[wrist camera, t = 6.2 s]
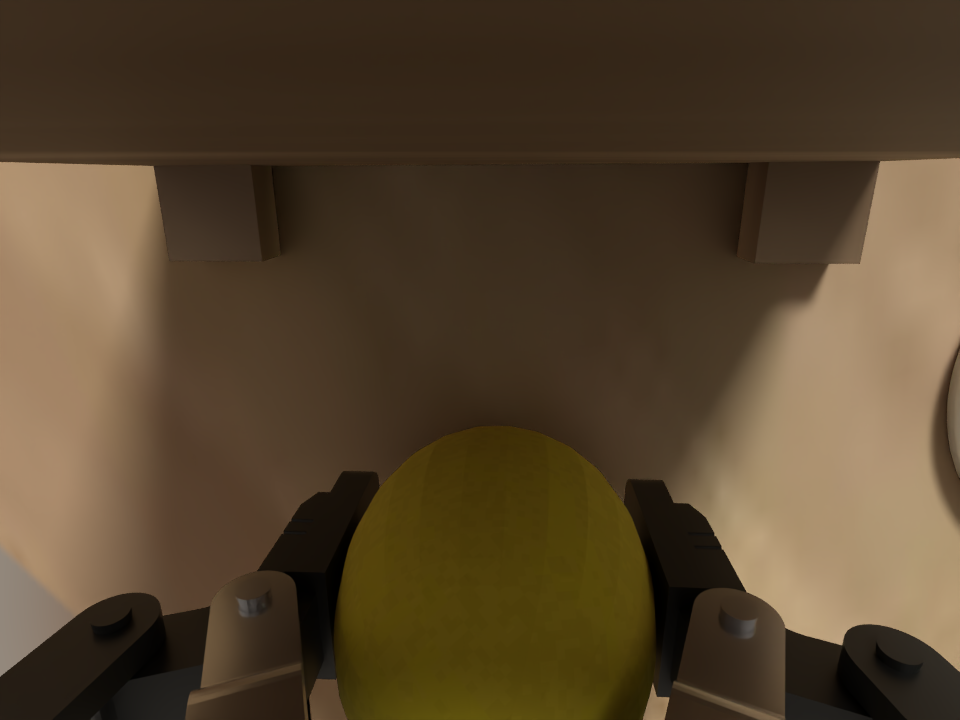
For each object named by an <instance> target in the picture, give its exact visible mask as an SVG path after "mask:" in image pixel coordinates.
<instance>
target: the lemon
mask: <svg viewBox="0 0 960 720" xmlns="http://www.w3.org/2000/svg"><path fill="white" fill-rule="evenodd" d="M334 652H335V663H336V675H337V683H338V690H339V696H340V699H341V702H342V705H343V708H344V711H345V714H346V716H347V719H348V720H643V716H644V713H645V709H646V706H647V702H648V699H649V695H650V691H651V687H652V683H653V679H654V672H655V663H656V622H655V600H654V588H653V581H652V575H651V571H650V567H649V563H648V560H647V557H646V555H645V552H644V549H643V546H642V544H641V541H640V538H639V536H638V533H637V530H636V527H635V525H634V522H633V520H632V517H631V515H630V514H629V512H628V510H627V508H626V507H625V505H624V504H623V502H622V501H621V500H620V498H619V497H618V495H617V494H616V493H615V491H614V490H613V489H612V487H611V486H610V484H609V483H608V482H607V480H606V479H605V478H604V476H603V475H602V473H601V472H600V471H599V470H598V469H597V468H596V467H594V466H593V465H592V464H591V463H590V462H588V461H587V460H586V459H585V458H583V457H582V456H581V455H580V454H578V453H577V452H576V451H575V450H574V449H572V448H571V447H570V446H567V445H565V444H563V443H561V442H559V441H557V440H555V439H552V438H550V437H548V436H546V435H544V434H542V433H539V432H537V431H532V430H527V429H522V428H517V427H512V426H478V427H474V428H470V429H467V430H463V431H459V432H456V433H452V434H449V435H446V436H443V437H442V438H440V439H438V440H436V441H434V442H433V443H431V444H429V445H427V446H426V447H424V448H422V449H420V450H418V451H417V452H416V453H414V454H413V455H412V456H410V457H409V458H408V459H407V460H406V461H405V462H404V463H403V464H402V465H401V466H400V467H399V468H398V469H397V470H396V471H395V472H394V473H393V474H392V475H391V476H390V477H389V478H388V479H387V480H386V481H385V482H384V483H383V484H382V485H381V487H380V488H379V490H378V491H377V493H376V494H375V496H374V498H373V499H372V501H371V503H370V505H369V507H368V508H367V510H366V512H365V514H364V515H363V517H362V519H361V521H360V523H359V524H358V526H357V528H356V530H355V532H354V534H353V537H352V540H351V542H350V545H349V548H348V552H347V556H346V560H345V564H344V569H343V573H342V578H341V582H340V587H339V592H338V597H337V603H336V609H335V620H334Z"/></svg>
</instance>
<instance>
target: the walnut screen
mask: <svg viewBox="0 0 960 720" xmlns="http://www.w3.org/2000/svg"><path fill="white" fill-rule="evenodd" d="M947 158H960V0H0V162H26V163H64V164H103V165H142V166H154V171H155V177H156V183H157V189H158V195H159V201H160V207H161V213H162V219H163V225H164V230H165V236H166V242H167V248H168V254H169V260H170V261H265V260H268V259H271V258H274V257H277V256H280V255H281V251H280V242H279V233H278V224H277V215H276V205H275V196H274V187H273V178H272V169H271V166H343V165H500V164H656V163H749V165H748V173H747V181H746V188H745V196H744V204H743V212H742V219H741V227H740V235H739V242H738V250H737V257H739V258H742V259H744V260H747V261H750V262H753V263H790V264H860V260H861V255H862V250H863V245H864V240H865V235H866V230H867V225H868V219H869V214H870V209H871V204H872V199H873V194H874V189H875V184H876V178H877V173H878V168H879V163H880V161H896V160H921V159H947Z"/></svg>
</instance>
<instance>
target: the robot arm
mask: <svg viewBox="0 0 960 720" xmlns="http://www.w3.org/2000/svg"><path fill="white" fill-rule="evenodd" d="M378 490H379V479H378V475H377V473H376V472H361V471H343V472H342V473H341V475H340V477H339V478H338V480H337V482H336V484H335V485H334V487H333V489H332V490H331V492H318V493H317V494H315V495H314V496H312V497H311V498H310V499H308V500H307V501H305V502H304V503H302V504H301V505H300V507H299V508H298V510H297V511H296V513H295V515H294V516H293V518H292V521H291V522H289V524H288V525H287V527H286V528H285V530H284V533H283V534H281V536H280V537H279V539H278V540H277V542H276V543H275V545H274V546H273V548H272V549H271V551H270V552H269V554H268V556H267V557H266V559H265V560H264V562H263V563H262V565H261V566H260V568H259V569H258V571H257V572H253V573H249V574H246V575H243V576H240V577H238V578H236V579H234V580H232V581H231V582H229V583H228V584H226V585H225V586H224V587H222V588H221V589H220V590H219V591H218V592H217V594H216V595H215V596H214V598H213V600H212V602H211V606H209V607H206V608H201V609H197V610H192V611H186V612H181V613H176V614H170V615H165V616H162V611H161V606H160V603H159V601H158V600H157V599H156V598H155V597H154V596H152V595H149V594H146V593H127V594H122V595H117V596H114V597H111V598H108V599H105V600H103V601H100V602H98V603H96V604H94V605H92V606H91V607H89V608H87V609H86V610H84V611H83V612H81V613H80V614H79V615H77V616H76V617H75V618H73V619H72V620H71V621H70V622H68V623H67V624H66V625H65V626H63V627H62V628H61V629H60V630H58V631H57V632H56V633H55V634H53V635H52V636H51V637H50V638H48V639H47V640H46V641H45V642H43V643H42V644H41V645H40V646H38V647H37V648H36V649H35V650H33V651H32V652H31V653H30V654H28V655H27V656H26V657H24V658H23V659H22V660H21V661H20V662H18V663H17V664H16V665H14V666H13V667H12V668H11V669H9V670H8V671H7V672H6V673H5V674H3V675H2V676H1V677H0V720H312V716H311V706H310V698H309V696H310V694H311V691H312V689H313V686H314V684H315V681H316V679H335V680H336V678H337V675H336V663H335V652H334V620H335V609H336V603H337V597H338V592H339V587H340V582H341V578H342V573H343V569H344V564H345V560H346V556H347V552H348V548H349V545H350V542H351V540H352V537H353V534H354V532H355V530H356V528H357V526H358V524H359V523H360V521H361V519H362V517H363V515H364V514H365V512H366V510H367V508H368V507H369V505H370V503H371V501H372V499H373V498H374V496H375V494H376V493H377V491H378ZM624 505H625V507H626V508H627V510H628V512H629V514H630V515H631V517H632V520H633V522H634V525H635V527H636V530H637V533H638V536H639V538H640V541H641V544H642V546H643V549H644V552H645V555H646V557H647V560H648V563H649V567H650V571H651V575H652V581H653V588H654V600H655V622H656V663H655V672H654V679H653V684H654V688H655V692H656V695H657V697H670V698H669V703H668V707H667V712H666V716H665V720H960V672H959V671H958V670H957V669H956V668H954V667H953V666H952V665H951V664H950V663H949V662H948V661H947V660H946V659H944V658H943V657H942V656H941V655H940V654H939V653H938V652H936V651H935V650H934V649H933V648H931V647H930V646H928V645H927V644H925V643H924V642H922V641H920V640H919V639H917V638H915V637H913V636H911V635H909V634H907V633H904V632H902V631H899V630H896V629H893V628H890V627H885V626H880V625H872V624H866V625H858V626H855V627H852V628H851V629H849V630H848V631H847V632H846V634H845V636H844V640H843V645H838V644H834V643H831V642H827V641H823V640H819V639H815V638H812V637H808V636H805V635H801V634H798V633H795V632H793V631H790V630H788V629H786V628H785V625H784V622H783V620H782V618H781V617H780V615H779V614H778V613H777V612H776V610H775V609H774V608H772V607H771V606H770V605H769V604H768V603H766V602H765V601H763V600H762V599H760V598H758V597H756V596H754V595H752V594H750V593H747V592H746V590H745V588H744V587H743V585H742V583H741V581H740V579H739V577H738V576H737V574H736V572H735V570H734V568H733V566H732V565H731V563H730V561H729V559H728V557H727V556H726V554H725V552H724V550H722V548H721V545H720V543H719V541H718V539H717V537H716V536H714V532H713V530H712V528H711V526H710V524H709V523H708V521H707V519H706V517H704V516H703V515H702V514H701V513H699V512H698V511H697V510H696V509H695V508H693V507H692V506H691V505H690V504H686V503H674V502H673V500H672V498H671V496H670V494H669V492H668V490H667V488H666V486H665V483H664V482H663V481H662V480H638V479H628V480H627V483H626V488H625V500H624Z"/></svg>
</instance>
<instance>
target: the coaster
mask: <svg viewBox="0 0 960 720" xmlns="http://www.w3.org/2000/svg"><path fill="white" fill-rule="evenodd" d="M947 431H948V439H949V447H950V452H951V455H952V458H953V462H954V465H955V468H956V472H957V474H958V476H959V478H960V350H959V353H958V356H957V359H956V362H955V365H954V368H953V372H952V377H951V383H950V388H949V393H948V401H947Z"/></svg>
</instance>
